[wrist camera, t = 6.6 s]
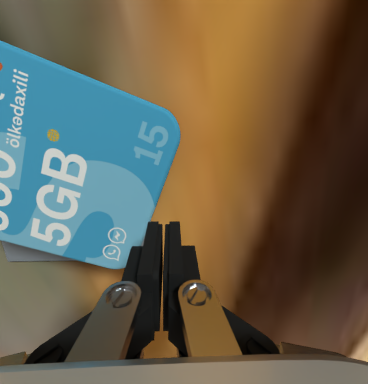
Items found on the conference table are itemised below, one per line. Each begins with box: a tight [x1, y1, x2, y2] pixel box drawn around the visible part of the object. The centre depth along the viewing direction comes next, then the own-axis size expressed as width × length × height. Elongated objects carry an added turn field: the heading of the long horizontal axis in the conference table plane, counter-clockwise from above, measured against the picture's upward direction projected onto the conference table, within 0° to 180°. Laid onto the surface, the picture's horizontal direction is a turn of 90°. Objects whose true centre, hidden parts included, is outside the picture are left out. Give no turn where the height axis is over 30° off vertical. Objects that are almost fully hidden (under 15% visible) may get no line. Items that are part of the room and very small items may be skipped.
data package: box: [0, 41, 180, 269], centre depth 15 cm, size 12×4×12 cm
